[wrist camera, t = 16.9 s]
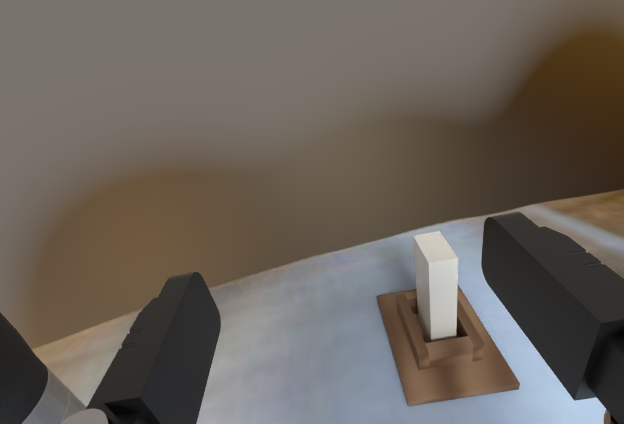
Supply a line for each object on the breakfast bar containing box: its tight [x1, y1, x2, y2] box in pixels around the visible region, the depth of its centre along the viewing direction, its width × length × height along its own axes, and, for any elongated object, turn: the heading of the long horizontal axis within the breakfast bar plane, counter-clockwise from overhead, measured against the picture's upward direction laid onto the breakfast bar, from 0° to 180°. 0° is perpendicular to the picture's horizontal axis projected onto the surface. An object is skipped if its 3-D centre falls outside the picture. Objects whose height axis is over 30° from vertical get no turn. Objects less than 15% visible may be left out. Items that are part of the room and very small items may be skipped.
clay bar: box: [413, 231, 458, 343], centre depth 39 cm, size 3×5×14 cm, turn 3°
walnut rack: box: [377, 285, 520, 406], centre depth 42 cm, size 12×16×4 cm
